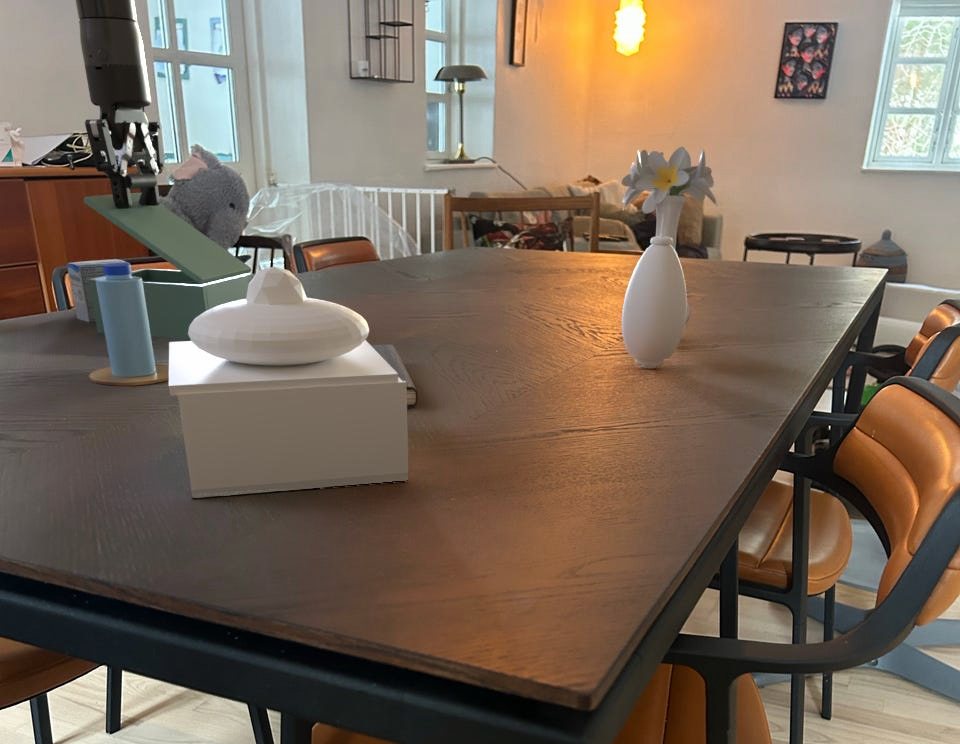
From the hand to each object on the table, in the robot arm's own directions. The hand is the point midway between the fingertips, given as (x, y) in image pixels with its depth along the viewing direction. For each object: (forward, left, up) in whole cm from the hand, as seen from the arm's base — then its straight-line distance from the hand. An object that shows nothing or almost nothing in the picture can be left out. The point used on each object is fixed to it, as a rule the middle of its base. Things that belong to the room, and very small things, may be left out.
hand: (138, 206), depth 125 cm
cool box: (+4, -1, -17) cm, 17 cm away
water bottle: (+9, -28, -16) cm, 33 cm away
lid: (+4, -1, -4) cm, 6 cm away
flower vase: (+73, +9, -17) cm, 75 cm away
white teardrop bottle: (+71, -13, -17) cm, 74 cm away
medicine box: (-10, +6, -17) cm, 21 cm away
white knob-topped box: (+36, -57, -17) cm, 69 cm away
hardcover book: (+34, -29, -17) cm, 47 cm away
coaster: (+9, -28, -17) cm, 33 cm away
